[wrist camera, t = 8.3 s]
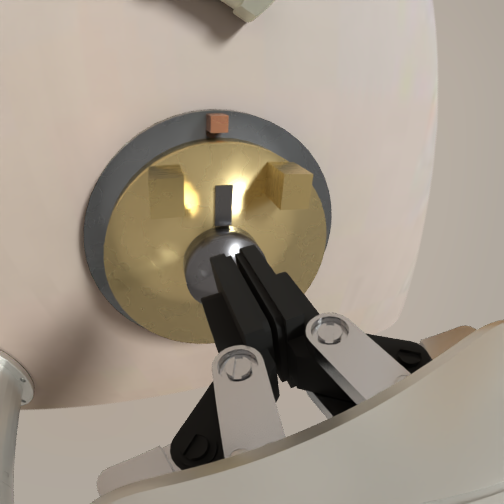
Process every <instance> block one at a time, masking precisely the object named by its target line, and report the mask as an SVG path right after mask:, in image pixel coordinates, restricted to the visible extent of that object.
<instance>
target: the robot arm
mask: <svg viewBox="0 0 504 504" xmlns="http://www.w3.org/2000/svg"><path fill="white" fill-rule="evenodd" d="M235 259H236V263H235V261H234V260H233V258H232V256H231V255H230V256H227V257H226V255H225V254H224V253H223V254H219V255H216V256H213V257H210V263H211V267H212V271H213V275H214V279H215V283H216V287H217V290H218V293H216V294H212V295H209V296H206V297H203V298H200V299H201V302H202V306H203V309H204V312H205V315H206V318H207V321H208V324H209V327H210V330H211V333H212V336H213V339H214V342H215V345H216V347H217V350H218V353H219V354H218V355H217V356H216V357H215V359H214V361H213V363H212V375H213V382H212V383H211V385H210V386H209V388H208V389H207V391H206V392H205V394H204V395H203V397H202V398H201V400H200V401H199V403H198V404H197V405H196V407H195V408H194V410H193V411H192V413H191V414H190V416H189V417H188V418H187V420H186V421H185V423H184V424H183V426H182V427H181V428H180V430H179V431H178V433H177V434H176V436H175V437H174V439H173V441H172V443H171V444H169V445H167V446H165V447H163V448H161V447H160V446H158V447H156V448H154V449H152V450H149V451H147V452H145V453H142V454H140V455H138V456H136V457H133V458H131V459H128V460H126V461H124V462H121V463H119V464H116V465H114V466H111V467H109V468H107V469H105V470H103V471H102V472H101V474H100V475H99V477H98V480H97V489H98V493H99V495H100V497H99V498H97V499H96V500H94V501H93V502H92V503H91V504H504V320H499V321H495V322H492V323H490V324H487V325H485V326H483V327H481V328H479V329H478V330H476V329H475V328H472V327H471V326H460V327H457V328H454V329H451V330H448V331H446V332H443V333H440V334H437V335H434V336H431V337H428V338H425V339H422V340H421V341H420V343H419V344H417V343H414V342H411V341H405V340H399V339H393V338H388V337H382V336H376V335H371V334H365V333H364V332H363V331H362V330H360V329H359V328H358V327H357V326H356V325H355V324H354V323H352V322H351V321H350V320H349V319H348V318H346V317H344V316H343V315H340V314H337V313H324V314H319V313H318V312H317V310H316V309H315V308H314V307H313V305H312V304H311V303H310V301H309V300H308V299H307V297H306V296H305V295H304V294H303V292H302V291H301V290H300V288H299V287H298V286H297V285H296V283H295V282H294V281H293V279H292V278H291V277H290V276H289V274H288V273H287V272H281V273H278V274H276V273H275V272H274V271H273V269H272V268H271V266H270V265H269V264H268V262H267V261H266V260H265V258H264V257H263V255H262V254H261V253H260V251H259V250H258V248H257V247H256V246H255V245H254V244H253V245H250V246H246V247H243V248H240V249H239V253H237V254H235ZM236 264H237V265H236ZM277 374H278V376H279V378H280V380H281V381H282V382H284V381H288V383H289V385H290V387H291V388H293V387H295V386H297V388H298V389H302V390H306V392H307V394H308V395H309V397H310V398H311V400H312V401H313V402H314V403H315V404H316V405H317V407H318V408H319V409H320V410H321V412H322V413H323V414H324V415H325V416H326V417H327V419H328V420H325V421H323V422H321V423H319V424H317V425H314V426H312V427H310V428H307V429H305V430H303V431H301V432H298V433H296V434H293V435H291V436H288V437H285V434H284V431H283V427H282V423H281V420H280V416H279V413H278V410H277V406H276V401H277V400H278V398H279V388H278V378H277ZM33 394H34V385H33V381H32V380H31V378H30V376H29V375H28V373H27V372H26V370H25V369H24V368H23V367H22V366H21V365H20V364H19V363H18V362H17V361H15V360H14V359H13V358H12V357H10V356H9V355H7V354H6V353H5V352H3V351H1V350H0V504H14V491H13V482H14V458H15V446H16V435H17V427H18V418H19V412H20V406H22V405H25V404H28V403H29V402H30V401H31V400H32V398H33Z"/></svg>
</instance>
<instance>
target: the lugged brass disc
mask: <svg viewBox="0 0 504 504" xmlns="http://www.w3.org/2000/svg"><path fill="white" fill-rule="evenodd" d="M312 181H313V174H312V173H311V172H309V171H308V170H306V169H304V168H303V167H301V166H299V165H298V164H296V163H294V162H289V161H287V160H286V159H284V158H282V157H281V156H279V155H277V154H276V153H274V152H272V151H270V150H268V149H267V148H265V147H263V146H260V145H258V144H255V143H252V142H249V141H245V140H240V139H235V138H221V137H216V138H204V139H198V140H194V141H190V142H186V143H183V144H180V145H178V146H175V147H172V148H170V149H168V150H166V151H165V152H163V153H161V154H159V155H157V156H156V157H154V158H153V159H152V160H150V161H149V162H148V163H146V164H145V165H144V166H142V167H141V168H140V169H139V170H138V171H137V172H136V173H135V174H134V175H133V176H132V178H131V179H130V180H129V181H128V183H127V184H126V185H125V187H124V188H123V190H122V191H121V193H120V195H119V197H118V199H117V201H116V202H115V205H114V208H113V210H112V213H111V216H110V219H109V223H108V227H107V231H106V236H105V242H104V267H105V274H106V277H107V280H108V283H109V286H110V289H111V291H112V293H113V295H114V297H115V299H116V300H117V301H118V303H119V304H120V306H121V307H122V309H123V310H124V311H125V312H126V313H127V314H128V315H129V316H130V317H131V318H132V319H133V320H135V321H136V322H137V323H138V324H139V325H141V326H143V327H144V328H146V329H147V330H149V331H151V332H153V333H155V334H157V335H159V336H162V337H165V338H168V339H171V340H175V341H180V342H185V343H196V344H208V343H215V342H214V339H213V336H212V333H211V330H210V327H209V324H208V321H207V318H206V315H205V312H204V309H203V306H202V302H201V299H200V298H203V297H206V296H209V295H212V294H216V293H218V290H217V287H216V283H215V279H214V275H213V271H212V267H211V263H210V257H213V256H216V255H219V254H223V253H224V254H225V255H226V257H227V256H230V255H231V256H232V258H233V260H234V261H235V263H236V259H235V254H237V253H239V249H240V248H243V247H246V246H250V245H253V244H254V245H255V246H256V247H257V248H258V250H259V251H260V253H261V254H262V255H263V257H264V258H265V260H266V261H267V262H268V264H269V265H270V266H271V268H272V269H273V271H274V272H275V273H276V274H278V273H281V272H287V273H288V274H289V276H290V277H291V278H292V279H293V281H294V282H295V283H296V285H297V286H298V287H299V288H300V290H301V291H302V292H303V294H304V293H305V292H306V291H307V289H308V288H309V286H310V285H311V283H312V281H313V280H314V278H315V276H316V274H317V272H318V269H319V267H320V265H321V262H322V258H323V255H324V251H325V245H326V220H325V214H324V210H323V207H322V203H321V201H320V199H319V196H318V194H317V192H316V190H315V189H314V187H313V186H312ZM236 265H237V264H236Z"/></svg>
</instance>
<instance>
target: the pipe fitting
mask: <svg viewBox="0 0 504 504" xmlns="http://www.w3.org/2000/svg"><path fill="white" fill-rule="evenodd" d="M220 1H222V2H224V3H225V4H227V5H228V6H230V7H231V8H233V14H235V15H236V16H238V17H239V18H241V19H242V20H243V21H245V22H246V23H247V22H251V21H253V20H254V19H256V18H257V17H258V16H259V15H260V14H261V13H263V12H264V11H265V10H266V9H267V8H268V7H269V6H270V5H271V4H272V3H273V2H274V1H275V0H220Z"/></svg>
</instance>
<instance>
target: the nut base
mask: <svg viewBox="0 0 504 504" xmlns="http://www.w3.org/2000/svg"><path fill="white" fill-rule="evenodd" d="M216 137H221V138H235V139H240V140H245V141H249V142H252V143H255V144H258V145H260V146H263V147H265V148H267V149H268V150H270V151H272V152H274V153H276V154H277V155H279V156H281V157H282V158H284V159H286V160H287V161H289V162H294V163H296V164H298V165H299V166H301V167H303V168H304V169H306V170H308V171H309V172H311V173H312V174H313V181H312V186H313V187H314V189H315V190H316V192H317V194H318V196H319V199H320V201H321V203H322V207H323V210H324V214H325V220H326V245H325V249H326V246H327V243H328V239H329V234H330V228H331V201H330V195H329V190H328V187H327V184H326V180H325V177H324V175H323V173H322V171H321V169H320V167H319V165H318V163H317V162H316V160H315V159H314V158H313V156H312V155H311V153H310V152H309V151H308V150H307V149H306V148H305V146H304V145H303V144H302V143H301V142H300V141H299V140H298V139H296V138H295V137H294V136H293V135H291V134H290V133H289V132H287V131H286V130H284V129H283V128H281V127H279V126H277V125H275V124H274V123H272V122H270V121H267V120H264V119H262V118H259V117H256V116H253V115H250V114H247V113H242V112H237V111H232V110H217V109H208V110H198V111H191V112H187V113H183V114H179V115H175V116H172V117H170V118H167V119H165V120H162V121H160V122H157V123H155V124H154V125H152V126H150V127H148V128H147V129H145V130H143V131H142V132H140V133H139V134H137V135H136V136H135V137H134V138H132V139H131V140H130V141H129V142H127V143H126V144H125V145H124V146H123V147H122V148H121V149H120V150H119V151H118V152H117V154H116V155H115V156H114V157H113V158H112V159H111V161H110V162H109V164H108V165H107V166H106V168H105V169H104V171H103V172H102V174H101V176H100V178H99V180H98V182H97V184H96V186H95V188H94V190H93V192H92V194H91V197H90V200H89V204H88V207H87V211H86V216H85V223H84V248H85V254H86V259H87V263H88V266H89V269H90V272H91V274H92V277H93V279H94V281H95V282H96V284H97V286H98V288H99V290H100V291H101V292H102V294H103V295H104V297H105V298H106V299H107V300H108V302H109V303H110V304H111V305H112V306H113V307H114V308H115V309H116V310H117V311H119V312H120V313H121V314H122V315H124V316H125V317H126V318H127V319H129V320H131V321H132V322H134V323H136V324H137V325H139V324H138V323H137V322H136V321H135V320H133V319H132V318H131V317H130V316H129V315H128V314H127V313H126V312H125V311H124V310H123V309H122V307H121V306H120V304H119V303H118V301H117V300H116V299H115V297H114V295H113V293H112V291H111V289H110V286H109V283H108V280H107V277H106V274H105V267H104V242H105V236H106V231H107V227H108V223H109V219H110V216H111V213H112V210H113V208H114V205H115V202H116V201H117V199H118V197H119V195H120V193H121V191H122V190H123V188H124V187H125V185H126V184H127V183H128V181H129V180H130V179H131V178H132V176H133V175H134V174H135V173H136V172H137V171H138V170H139V169H140V168H141V167H142V166H144V165H145V164H146V163H148V162H149V161H150V160H152V159H153V158H154V157H156V156H157V155H159V154H161V153H163V152H165V151H166V150H168V149H170V148H172V147H175V146H178V145H180V144H183V143H186V142H190V141H194V140H198V139H204V138H216ZM324 252H325V251H324ZM139 326H141V325H139ZM141 327H143V326H141ZM143 328H144V327H143Z"/></svg>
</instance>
